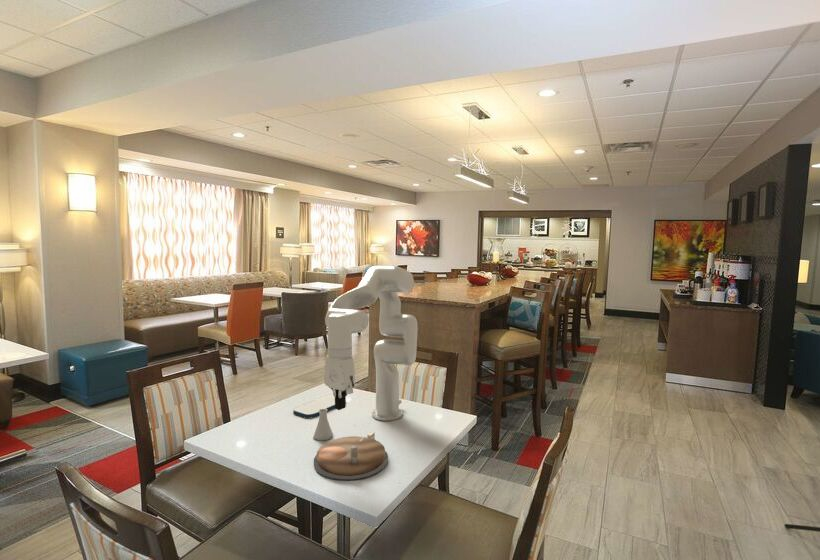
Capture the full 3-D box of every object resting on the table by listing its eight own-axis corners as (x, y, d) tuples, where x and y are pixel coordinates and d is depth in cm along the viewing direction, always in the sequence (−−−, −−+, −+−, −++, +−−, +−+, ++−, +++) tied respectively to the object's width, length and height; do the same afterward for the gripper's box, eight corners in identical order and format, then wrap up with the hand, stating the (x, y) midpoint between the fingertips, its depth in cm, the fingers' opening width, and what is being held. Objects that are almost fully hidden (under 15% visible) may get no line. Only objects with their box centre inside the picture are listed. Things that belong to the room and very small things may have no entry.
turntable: (315, 445, 148) (315, 425, 148) (378, 439, 154) (379, 420, 153) (317, 479, 127) (317, 456, 127) (391, 470, 132) (391, 448, 132)
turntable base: (344, 436, 159) (344, 425, 158) (403, 449, 149) (403, 438, 148) (297, 470, 134) (297, 457, 134) (364, 488, 125) (364, 475, 124)
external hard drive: (309, 420, 174) (309, 415, 173) (290, 414, 180) (289, 409, 180) (348, 403, 193) (348, 398, 193) (329, 397, 200) (329, 393, 199)
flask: (328, 442, 154) (328, 414, 153) (309, 439, 155) (309, 413, 155) (336, 433, 161) (336, 407, 160) (317, 431, 163) (317, 405, 162)
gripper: (315, 350, 138) (315, 406, 140) (347, 358, 129) (347, 418, 130) (333, 346, 144) (333, 399, 145) (365, 353, 135) (365, 410, 136)
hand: (340, 408), depth 138 cm, fingers closed
